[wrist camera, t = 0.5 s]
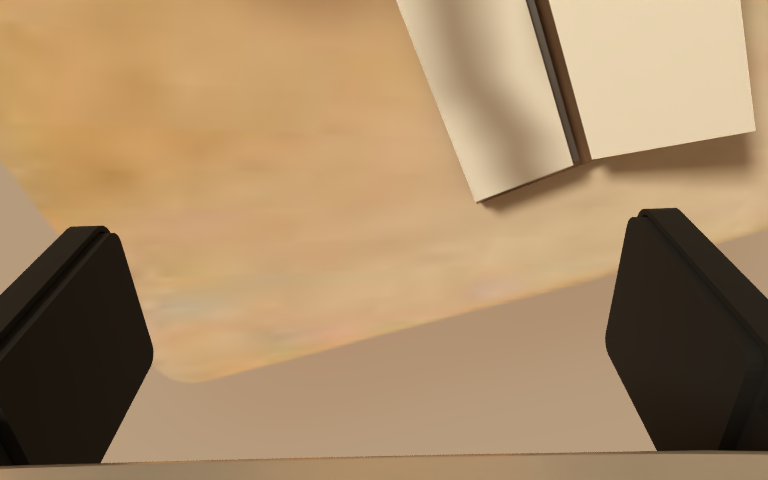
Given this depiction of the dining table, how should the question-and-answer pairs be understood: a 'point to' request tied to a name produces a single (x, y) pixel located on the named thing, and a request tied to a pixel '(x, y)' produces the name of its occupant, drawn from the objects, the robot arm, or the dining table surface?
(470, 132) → the white grooved board
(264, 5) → the dining table surface
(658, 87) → the pale plank
